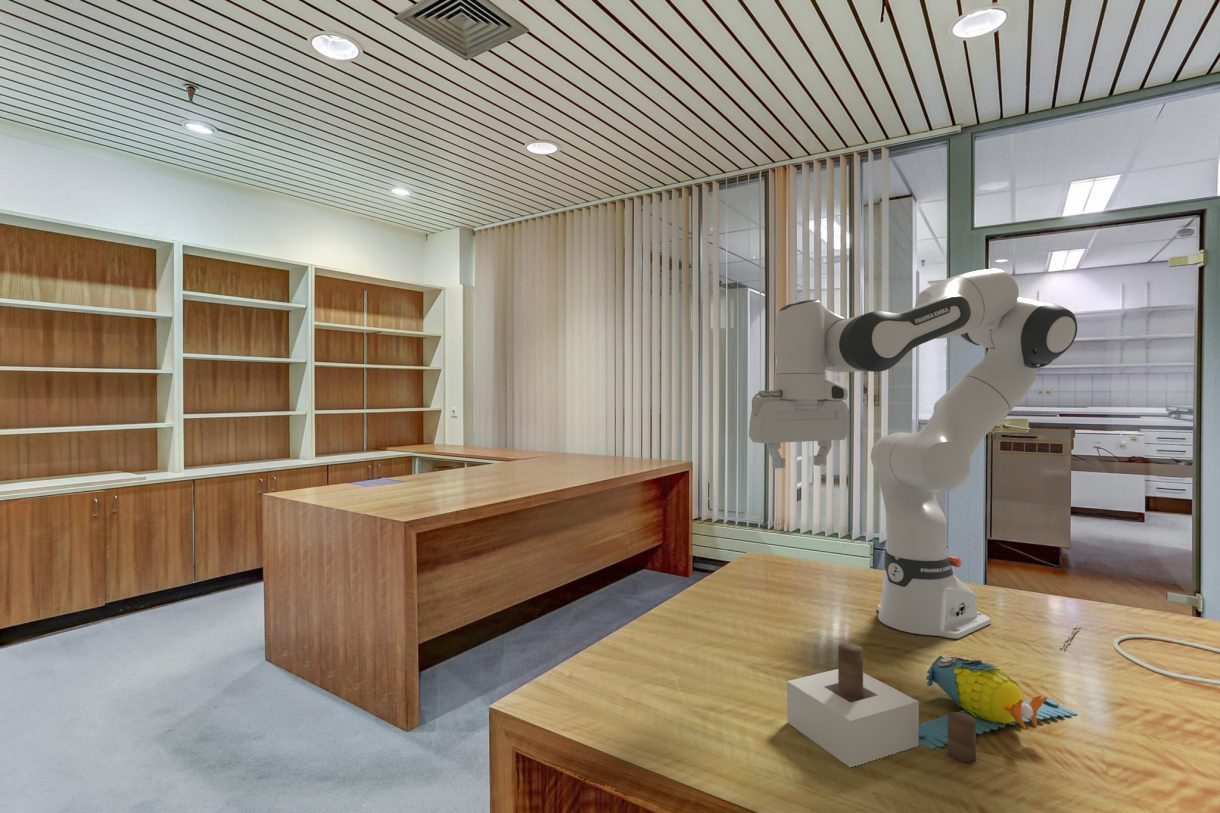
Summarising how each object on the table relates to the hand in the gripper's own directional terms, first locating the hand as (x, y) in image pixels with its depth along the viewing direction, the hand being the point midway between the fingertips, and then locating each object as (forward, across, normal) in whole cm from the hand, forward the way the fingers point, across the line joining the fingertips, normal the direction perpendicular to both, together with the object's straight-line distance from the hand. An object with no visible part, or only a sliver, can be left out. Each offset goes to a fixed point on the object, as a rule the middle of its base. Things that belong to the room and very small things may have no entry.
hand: (799, 466), depth 112 cm
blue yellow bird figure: (+35, +9, -28) cm, 46 cm away
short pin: (+34, -3, -34) cm, 48 cm away
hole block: (+34, -12, -24) cm, 43 cm away
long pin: (+34, -12, -24) cm, 43 cm away
